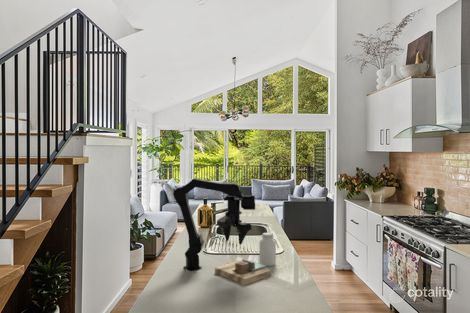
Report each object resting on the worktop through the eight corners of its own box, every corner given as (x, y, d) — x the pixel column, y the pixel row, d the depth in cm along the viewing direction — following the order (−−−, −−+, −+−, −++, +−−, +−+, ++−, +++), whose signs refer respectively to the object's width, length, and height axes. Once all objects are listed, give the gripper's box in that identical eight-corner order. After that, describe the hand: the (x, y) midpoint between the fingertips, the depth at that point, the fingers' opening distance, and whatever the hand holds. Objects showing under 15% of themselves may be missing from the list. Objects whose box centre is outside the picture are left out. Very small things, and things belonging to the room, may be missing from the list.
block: (235, 276, 162) (235, 263, 162) (242, 273, 165) (242, 260, 165) (241, 278, 159) (241, 265, 159) (249, 276, 162) (249, 263, 162)
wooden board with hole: (214, 272, 167) (214, 267, 167) (240, 264, 178) (240, 260, 178) (244, 284, 152) (244, 278, 152) (270, 275, 163) (270, 270, 163)
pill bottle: (276, 262, 182) (276, 232, 182) (274, 267, 174) (274, 236, 174) (261, 260, 184) (261, 231, 184) (258, 265, 176) (257, 235, 176)
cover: (240, 266, 167) (240, 259, 167) (253, 262, 172) (253, 255, 172) (253, 270, 161) (253, 263, 161) (265, 266, 167) (265, 259, 166)
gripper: (207, 209, 173) (208, 241, 174) (234, 214, 159) (234, 249, 160) (225, 206, 181) (225, 237, 181) (252, 211, 167) (252, 245, 167)
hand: (233, 242), depth 172 cm, fingers open, 9 cm apart
